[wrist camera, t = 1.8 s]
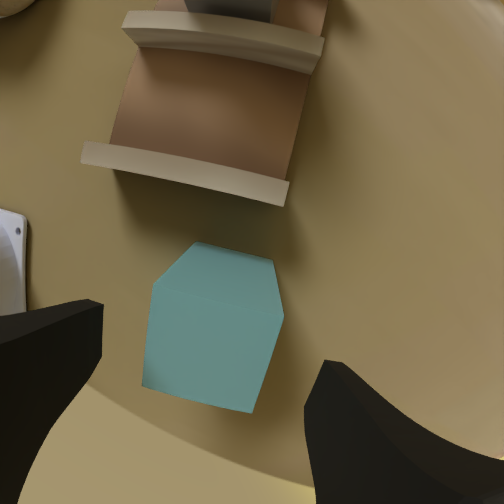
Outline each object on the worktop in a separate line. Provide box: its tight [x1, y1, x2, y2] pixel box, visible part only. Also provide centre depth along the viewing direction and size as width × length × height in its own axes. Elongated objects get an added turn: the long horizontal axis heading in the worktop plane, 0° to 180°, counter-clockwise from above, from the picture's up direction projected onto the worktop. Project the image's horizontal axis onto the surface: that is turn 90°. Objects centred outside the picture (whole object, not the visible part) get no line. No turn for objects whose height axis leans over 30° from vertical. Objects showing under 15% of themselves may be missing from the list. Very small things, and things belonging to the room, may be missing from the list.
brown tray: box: [80, 0, 329, 207], centre depth 12 cm, size 14×9×3 cm, turn 166°
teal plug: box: [142, 241, 284, 413], centre depth 13 cm, size 4×4×7 cm
